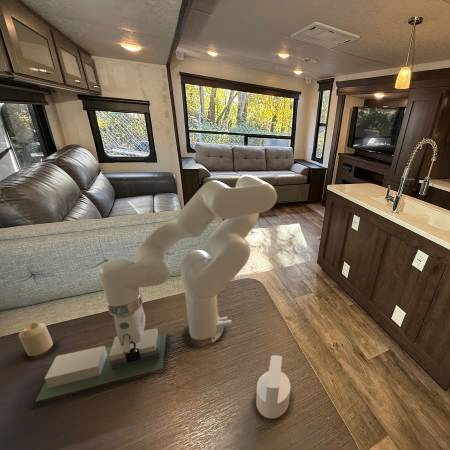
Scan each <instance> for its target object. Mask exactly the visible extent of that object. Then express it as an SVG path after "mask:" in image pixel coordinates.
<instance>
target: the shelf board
mask: <svg viewBox="0 0 450 450" xmlns="http://www.w3.org/2000/svg"><path fill="white" fill-rule="evenodd" d="M166 337H167V334H160V338H161V343H162V344H161V353H160V358H159V359H155V360H151V361H147V362H143V363H139V364H135V365H131V366H127V367H123V368H119V369H115V370H112V368H111V365H110V362H109V354H110V351H111V348H112V345H110V346H105V349H106V352H107V356H106V359H105V363H104V366H103V369H102V372H101V375H99V376H95V377H91V378H87V379H83V380H79V381H75V382H71V383H67V384H63V385H59V386H55V387H51V388H48V386H47V383H46V381H45V382H44V383H43V385H42V387H41V390H40V391H39V393H38V394H37V397H36V399H35V403H36V402H40V401H43V400H47V399H51V398H54V397H59V396H63V395H66V394H69V393H74V392H78V391H81V390H85V389H90V388H92V387H97V386H100V385H101V386H102V385H103V384H107V383H112V382H115V381H119V380H123V379H127V378H131V377H135V376H138V375H142V374H145V373H150V372H153V371H156V370H161V369H164V359H165V348H166Z"/></svg>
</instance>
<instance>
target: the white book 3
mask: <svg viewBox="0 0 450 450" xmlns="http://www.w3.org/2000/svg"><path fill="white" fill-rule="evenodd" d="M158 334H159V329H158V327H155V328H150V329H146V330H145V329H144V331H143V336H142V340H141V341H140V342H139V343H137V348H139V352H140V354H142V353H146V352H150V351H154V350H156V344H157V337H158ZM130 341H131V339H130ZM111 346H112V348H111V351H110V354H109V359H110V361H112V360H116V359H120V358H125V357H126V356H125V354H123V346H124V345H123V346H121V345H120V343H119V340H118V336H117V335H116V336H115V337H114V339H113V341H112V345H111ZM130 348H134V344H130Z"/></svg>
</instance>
